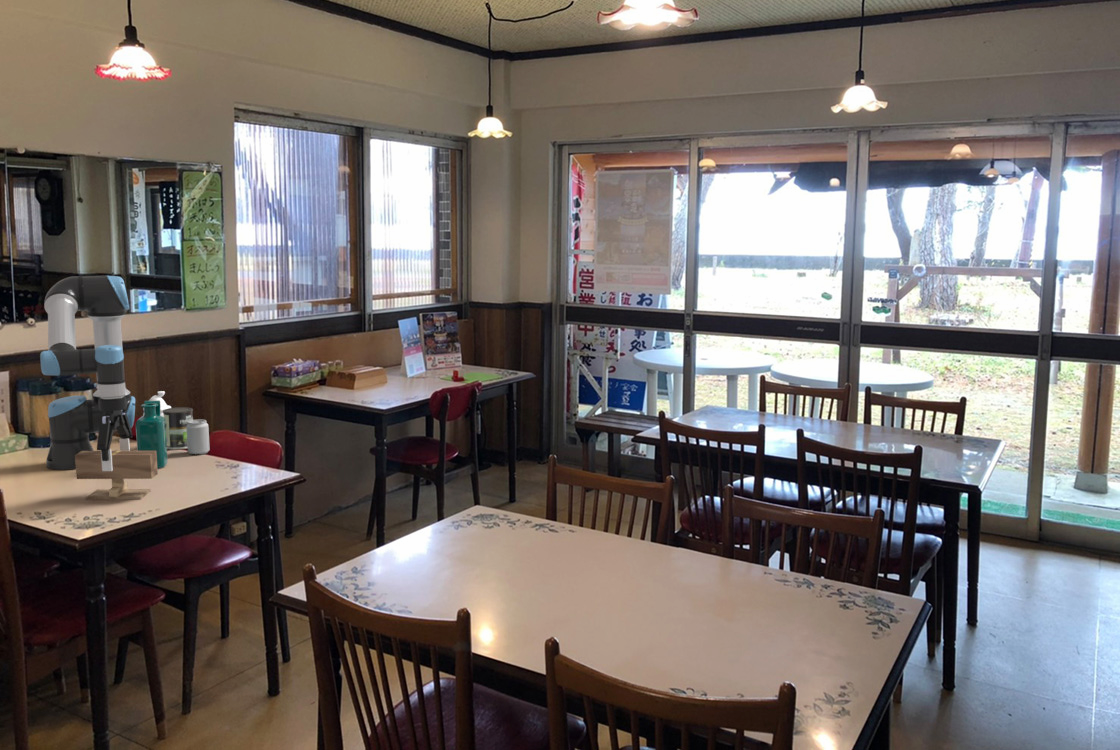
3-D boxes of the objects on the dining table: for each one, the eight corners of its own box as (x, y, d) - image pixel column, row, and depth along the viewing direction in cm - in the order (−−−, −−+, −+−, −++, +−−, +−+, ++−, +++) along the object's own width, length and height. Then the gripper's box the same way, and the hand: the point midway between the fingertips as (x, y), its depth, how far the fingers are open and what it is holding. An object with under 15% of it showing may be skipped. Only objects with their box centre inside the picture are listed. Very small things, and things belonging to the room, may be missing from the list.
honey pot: (177, 432, 355) (175, 388, 352) (174, 439, 343) (171, 394, 340) (142, 434, 351) (139, 389, 348) (138, 441, 339) (135, 395, 336)
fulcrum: (97, 491, 276) (95, 473, 275) (150, 491, 277) (149, 472, 276) (86, 499, 268) (84, 480, 267) (140, 499, 269) (139, 480, 268)
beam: (84, 474, 273) (82, 450, 272) (157, 474, 275) (156, 450, 274) (76, 479, 268) (74, 454, 267) (151, 478, 270) (150, 454, 269)
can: (214, 451, 326) (212, 419, 324) (198, 456, 320) (196, 423, 318) (199, 449, 329) (197, 417, 327) (183, 453, 323) (181, 421, 321)
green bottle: (164, 468, 303) (160, 405, 300) (137, 469, 301) (133, 406, 298) (169, 461, 313) (165, 399, 309) (143, 462, 311) (139, 400, 307)
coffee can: (200, 444, 336) (198, 408, 334) (180, 450, 327) (178, 413, 325) (179, 441, 340) (177, 405, 338) (158, 448, 330) (156, 411, 328)
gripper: (116, 389, 280) (120, 454, 283) (80, 404, 255) (86, 476, 259) (140, 389, 280) (144, 454, 284) (107, 404, 256) (112, 476, 259)
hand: (116, 464), depth 271 cm, fingers open, 13 cm apart
